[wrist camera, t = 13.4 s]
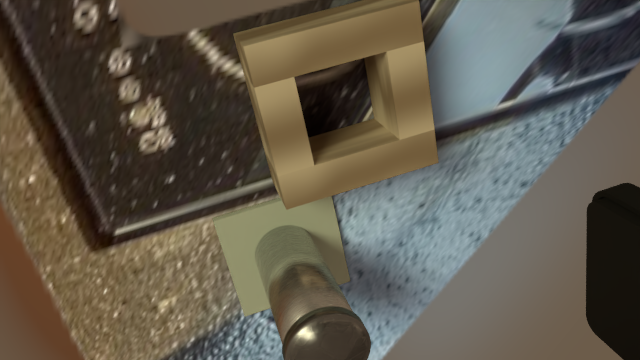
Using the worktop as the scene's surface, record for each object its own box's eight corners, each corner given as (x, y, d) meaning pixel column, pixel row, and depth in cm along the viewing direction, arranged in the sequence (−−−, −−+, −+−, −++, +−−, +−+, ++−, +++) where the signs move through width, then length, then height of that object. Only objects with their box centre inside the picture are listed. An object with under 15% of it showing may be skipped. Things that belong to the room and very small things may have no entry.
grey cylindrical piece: (244, 234, 42) (276, 334, 31) (310, 214, 43) (363, 304, 32) (261, 290, 44) (296, 400, 34) (323, 269, 45) (376, 370, 35)
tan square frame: (233, 33, 37) (243, 46, 32) (388, -7, 38) (419, 0, 34) (272, 180, 42) (286, 209, 37) (409, 139, 43) (438, 162, 39)
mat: (212, 218, 42) (213, 221, 41) (327, 183, 43) (329, 185, 42) (244, 312, 45) (244, 316, 45) (348, 277, 47) (350, 281, 46)
